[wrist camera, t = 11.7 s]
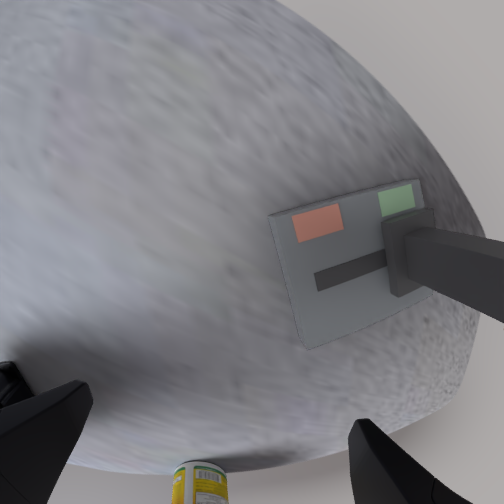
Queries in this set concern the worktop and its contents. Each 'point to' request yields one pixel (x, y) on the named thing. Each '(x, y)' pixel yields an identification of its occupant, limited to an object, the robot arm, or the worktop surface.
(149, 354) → the worktop surface
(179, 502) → the supplement bottle
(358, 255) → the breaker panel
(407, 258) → the breaker handle
